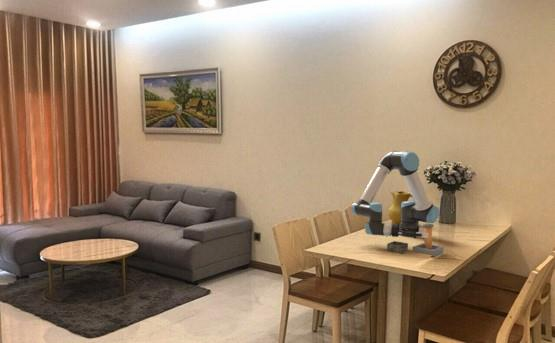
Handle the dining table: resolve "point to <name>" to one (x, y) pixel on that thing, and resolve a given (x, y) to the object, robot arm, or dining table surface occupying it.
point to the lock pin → (428, 240)
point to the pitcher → (398, 206)
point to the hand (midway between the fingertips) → (429, 233)
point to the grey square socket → (397, 247)
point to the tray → (429, 250)
